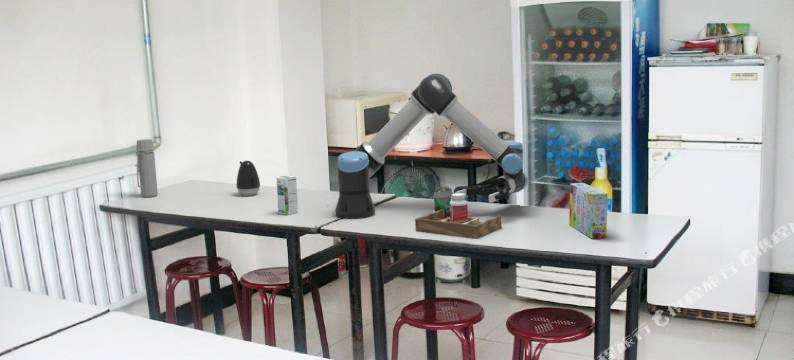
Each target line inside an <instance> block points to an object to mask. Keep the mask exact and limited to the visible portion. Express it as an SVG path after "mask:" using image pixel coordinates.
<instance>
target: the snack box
mask: <svg viewBox="0 0 794 360" xmlns="http://www.w3.org/2000/svg"><path fill="white" fill-rule="evenodd" d="M568 216H569V219H568V220H569V223H568V224H569V226H570V227H572V228H573V229H574V230H577V231H578V232H580V233H582V234H583V235H586V237H588V238H590V239H592V240H595V239H606V238H607V222H608V220H607V219H608V218H607V217H608V193H607V192H605V191H604V190H603V191H602V190H601V189H598V188H596V187H593V186H591V185H589V184H587V183H585V182H573V183H569V215H568Z"/></svg>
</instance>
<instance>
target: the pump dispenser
mask: <svg viewBox="0 0 794 360" xmlns="http://www.w3.org/2000/svg"><path fill="white" fill-rule="evenodd" d="M239 164H240V165H239V168H238V171H237V176H236V189H237V191H238V193H239V194H240V195H241V196H243V197H250V196H251V197H253V196H255V195H257V194H258V193H259V191H260V187H261V181H260V177H259V174H258V171H257V168H256V166H255V164H254V163H253V162H252V161H250V160H244V161H241V160H240V161H239Z"/></svg>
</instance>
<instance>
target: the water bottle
mask: <svg viewBox="0 0 794 360" xmlns="http://www.w3.org/2000/svg"><path fill="white" fill-rule="evenodd" d="M135 154H136V158H137V161H136V162H137V163H136V164H137V170H136V172H137V173H136V174H137V176H136V177H137V182H136V183H137V186H138V188H140V194H141V197H143V198H154V197H157V196H158V194H159V193H158V183H157V180H158V179H157V169H156V158H155V148H154V143H153V139H149V138H145V139H137V140H136V151H135Z"/></svg>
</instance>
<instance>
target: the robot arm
mask: <svg viewBox="0 0 794 360" xmlns="http://www.w3.org/2000/svg"><path fill="white" fill-rule="evenodd" d="M410 94H411V95H410V96H411V97H410V99H409V100H408V101H407V102H406V103H405V105H403V106H402V108H401V109H399V110H398V112H397V113H396V114H394V116H393V117H392V118H390V120H389V121H388V122H387V123H386V124H385V125H384V126H383V127H382V128H381V129H380V130H379V131H378V132H377V133H376V134H375V135H374V136H373V137H372V138H371V139H370V140H369V141H363V142H362V143H361V144H360V145H359V146H358V147H357V148H356V149H355V150H353V151H347V152H343V153H341V154H340V155H338V156H337V163H336V165H337V175H338V176H337V177H338V179H337V180H338V195H339V196H338V199H337V203H336V206H335V211H334V212H335V216H336V217H338V218H341V219H363V218H368V217H372V216H375V214H376V207H375V203H374V202H373V199H372V196H371V192H370V191H371V190H370V178H371V177H373V176H374V175H375V173H376V172H378V171H379V169H380V168H381V167H382V166H383V165H384V164H385V158H386V157H387V155H389V154H390V152H391V151H392V150H394V149H395V148H396V147H397V145H398V144H399V143H400V142H401V141H402V140H403V139H404V138H405V137H406V136H407V135H408V134H409V133H410V132H411V131H413V130H414V128H415V127H416V126H417V125H418V124H419V123H420V122H422V120H423V119H424V118H425V117H427V115H434V113H436V114H437V115H438V116H439V117H444V118H445V119H447V120H448V121H449V122H450V123H451V124H452V125H454V127H456V128H457V129H458V130H459V131H460V132H462V133H463V135H465V136H466V137H468V138H469V139H470V140H471V141H472V142H473V143H474V144H475V145H476V146H478V147H479V148H480V149H481V150H483V152H484V153H486V154H487V155H488V156H489V157H490V158H492V159H493V160H494V161H495V162H496V164H498V165H499V166H500V167H501V168H502V170H503V175H501V176H499V177H496V178H494V179H492V180H490V181H489V183H487V184H486V185H485V184H484V185H482V184H478V185H472V186H464V187H459V188H458V189H459V190H458V191H455V192H454V194H455V193H464V194H465V198H466V197H467V196H477V195H480V196H488V203H489V204H491V203H494V202H497V201H499V200H506V201H507V200H509V199H510V196H511V195H513V194H515V193H519V192H521V191H522V190H524V189H525V188H526V187H527V185H528V182H529V181H528V177H527V175H526V173H524V147H523V145H524V144H523V143H522V142H520V141H507V142H505V141H504V140H503V139H502V138H501V137H500V136H498V135H497V134H496V133H495V132H494V131H493V130H491V128H489V126H487V125H486V124H485V123H483V122H482V121H481V119H479V118H478V117H477V116H475V114H473V112H471V111H470V110H469V109H468V108H467V107H465V106H464V105H463V104H462V103H461V102H460V101H458V96H457V95H456V94H455V93H454V92H453V86H452V83H451V81H450V80H449V78H448V77H447V76H445V75H444V74H443V73H431V74H429V75H427V76H426V77H424V78H423V79H422V80H421V81H420V83H419V84H418V86H417V87H415V89H414V90H413V91H412V92H411V93H410Z"/></svg>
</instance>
